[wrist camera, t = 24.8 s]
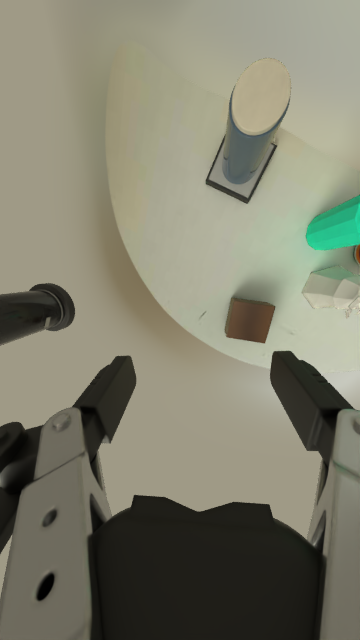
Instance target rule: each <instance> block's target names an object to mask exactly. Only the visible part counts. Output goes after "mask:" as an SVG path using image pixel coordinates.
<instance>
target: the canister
mask: <svg viewBox="0 0 360 640" xmlns="http://www.w3.org/2000/svg"><path fill="white" fill-rule="evenodd" d="M290 93H291V81H290V76H289V73H288V71H287V69H286V67H285V66H284V65H283V64H282V63H281V62H280V61H278V60H276V59H272V58H264V59H260V60H258V61H256V62H254V63H252V64H251V65H250V66H249V67H248V68H247V69H246V70H245V71H244V72H243V73H242V74H241V76H240V78H239V79H238V81H237V83H236V85H235V87H234V89H233V91H232V94H231V98H230V103H229V111H228V119H227V127H226V135H225V143H224V151H223V159H222V171H223V174H224V176H225V178H226V179H227V180H228V181H229V182H230V183H232V184H244V183H246V182H248V181H249V180H251V179H252V178H253V177H254V175H255V174H256V173H257V171H258V169H259V167H260V165H261V163H262V161H263V158H264V156H265V154H266V152H267V150H268V148H269V146H270V144H271V142H272V140H273V138H274V136H275V134H276V132H277V130H278V128H279V126H280V124H281V122H282V120H283V118H284V116H285V114H286V111H287V109H288V105H289V101H290Z"/></svg>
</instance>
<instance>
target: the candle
mask: <svg viewBox="0 0 360 640" xmlns="http://www.w3.org/2000/svg"><path fill="white" fill-rule="evenodd" d="M306 238H307V241H308V244H309V245H310V246H311V247H313V248H314V249H315V250H330V249H336V248H342V247H348V246H354V245H359V244H360V195H359V196H357V197H355V198H353V199H351V200H349V201H347V202H345V203H343V204H340V205H338V206H336V207H334V208H332V209H330V210H328V211H326V212H324V213H322V214H320V215H318V216H316V217H315V218H314V219H313V221H312V222H311V223H310V224H309V226H308V229H307V233H306Z"/></svg>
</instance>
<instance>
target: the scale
mask: <svg viewBox="0 0 360 640" xmlns="http://www.w3.org/2000/svg"><path fill="white" fill-rule="evenodd" d="M225 135H226V134H225ZM224 143H225V136H224V138H223V141H222V143H221V146H220V148H219V150H218V153H217V155H216V157H215V160H214V162H213V165H212V167H211V169H210V172H209V174H208V176H207V179H206V184H207V185H210V186H212V187H214V188H216V189H218V190H220V191H222V192H224V193H226V194H228V195H230V196H232V197H235V198H237V199H239V200H241V201H243V202H245V203H247V204H248V202H249V200H250V198H251V196H252V194H253V192H254V190H255V189H256V187H257V185H258V183H259V181H260V179H261V177H262V175H263V173H264V171H265V169H266V167H267V165H268V163H269V161H270V159H271V157H272V155H273V153H274V151H275V149H276V147H277V145H275V144H273V143H271V144H270V146H269V148H268V150H267V152H266V154H265V156H264V158H263V161H262V163H261V165H260V167H259V169H258V171H257V173H256V174H255V175H254V177H253V178H252V179H251V180H249V181H248V182H246V183H244V184H232V183H230V182H229V181H228V180H227V179H226V178H225V176H224V174H223V171H222V159H223V151H224Z"/></svg>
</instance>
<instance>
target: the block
mask: <svg viewBox="0 0 360 640" xmlns="http://www.w3.org/2000/svg"><path fill="white" fill-rule="evenodd" d="M274 310H275V306H273V305H272V304H270V303H268V302H261V301H254V300H247V299H239V298H231V302H230V307H229V311H228V316H227V321H226V326H225V333H226V337H229V338H235V339H241V340H247V341H253V342H259V343H265V342H266V338H267V335H268V331H269V327H270V324H271V320H272V317H273V313H274Z"/></svg>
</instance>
